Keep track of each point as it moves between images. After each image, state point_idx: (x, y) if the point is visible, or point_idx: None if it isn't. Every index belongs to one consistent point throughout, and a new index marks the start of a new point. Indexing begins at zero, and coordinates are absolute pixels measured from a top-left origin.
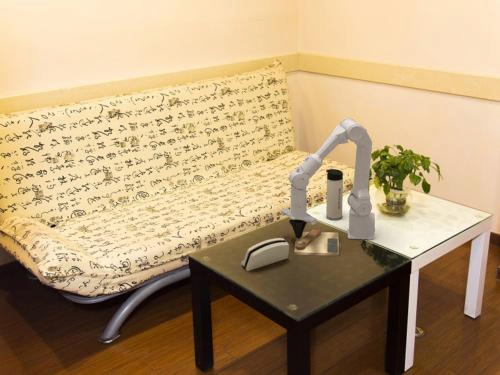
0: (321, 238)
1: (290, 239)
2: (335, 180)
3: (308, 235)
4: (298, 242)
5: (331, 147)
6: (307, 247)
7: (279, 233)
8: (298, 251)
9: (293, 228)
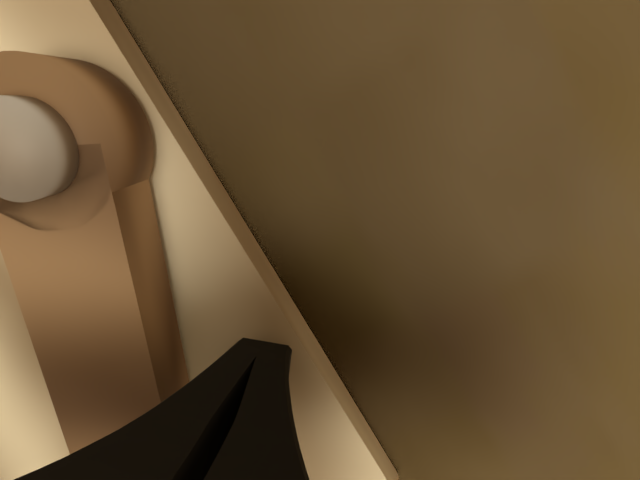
0: None
1: (394, 339)
2: None
3: None
4: (17, 112)
5: None
6: None
7: (605, 418)
8: (25, 9)
9: (279, 449)
